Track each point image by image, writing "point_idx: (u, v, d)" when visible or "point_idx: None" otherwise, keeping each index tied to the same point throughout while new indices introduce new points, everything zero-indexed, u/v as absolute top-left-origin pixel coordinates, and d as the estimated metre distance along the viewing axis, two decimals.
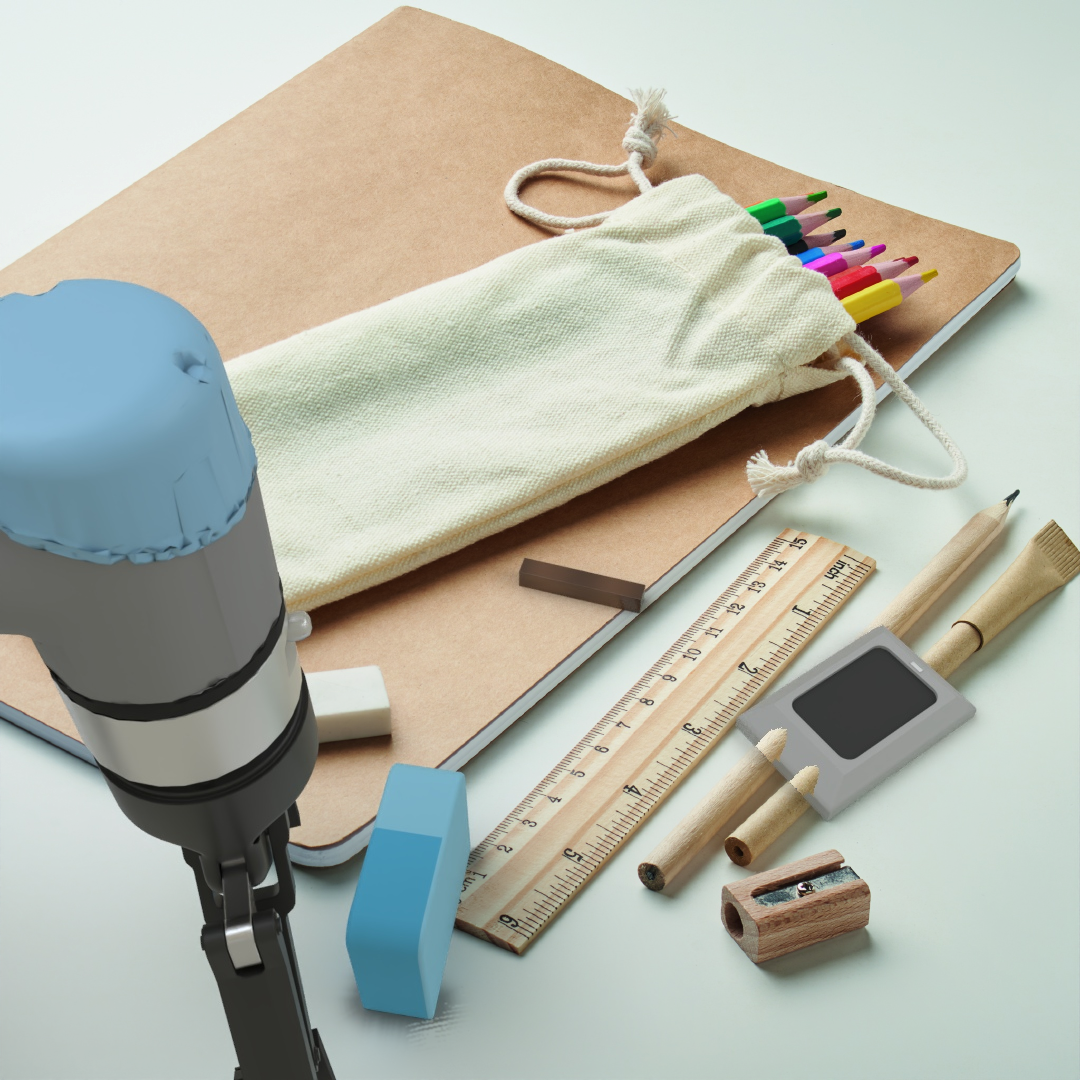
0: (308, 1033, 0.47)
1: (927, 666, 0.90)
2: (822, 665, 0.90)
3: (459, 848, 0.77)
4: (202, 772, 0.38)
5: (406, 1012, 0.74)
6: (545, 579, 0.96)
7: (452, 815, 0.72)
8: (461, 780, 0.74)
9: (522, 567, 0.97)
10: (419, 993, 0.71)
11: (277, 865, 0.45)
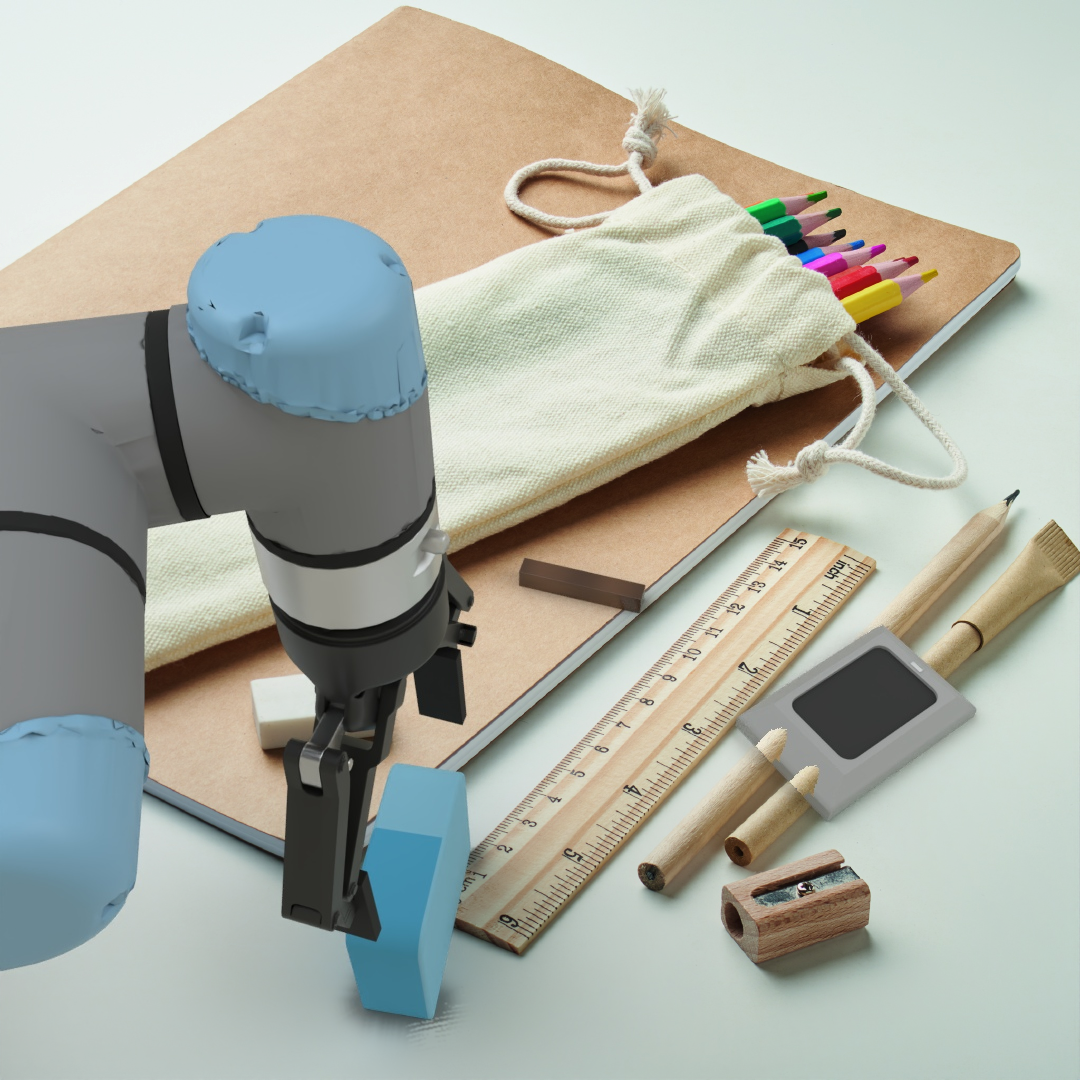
0: (351, 868, 0.56)
1: (927, 666, 0.90)
2: (822, 665, 0.90)
3: (459, 848, 0.77)
4: (320, 619, 0.48)
5: (406, 1012, 0.74)
6: (545, 579, 0.96)
7: (452, 815, 0.72)
8: (461, 780, 0.74)
9: (522, 567, 0.97)
10: (419, 993, 0.71)
11: (377, 727, 0.54)
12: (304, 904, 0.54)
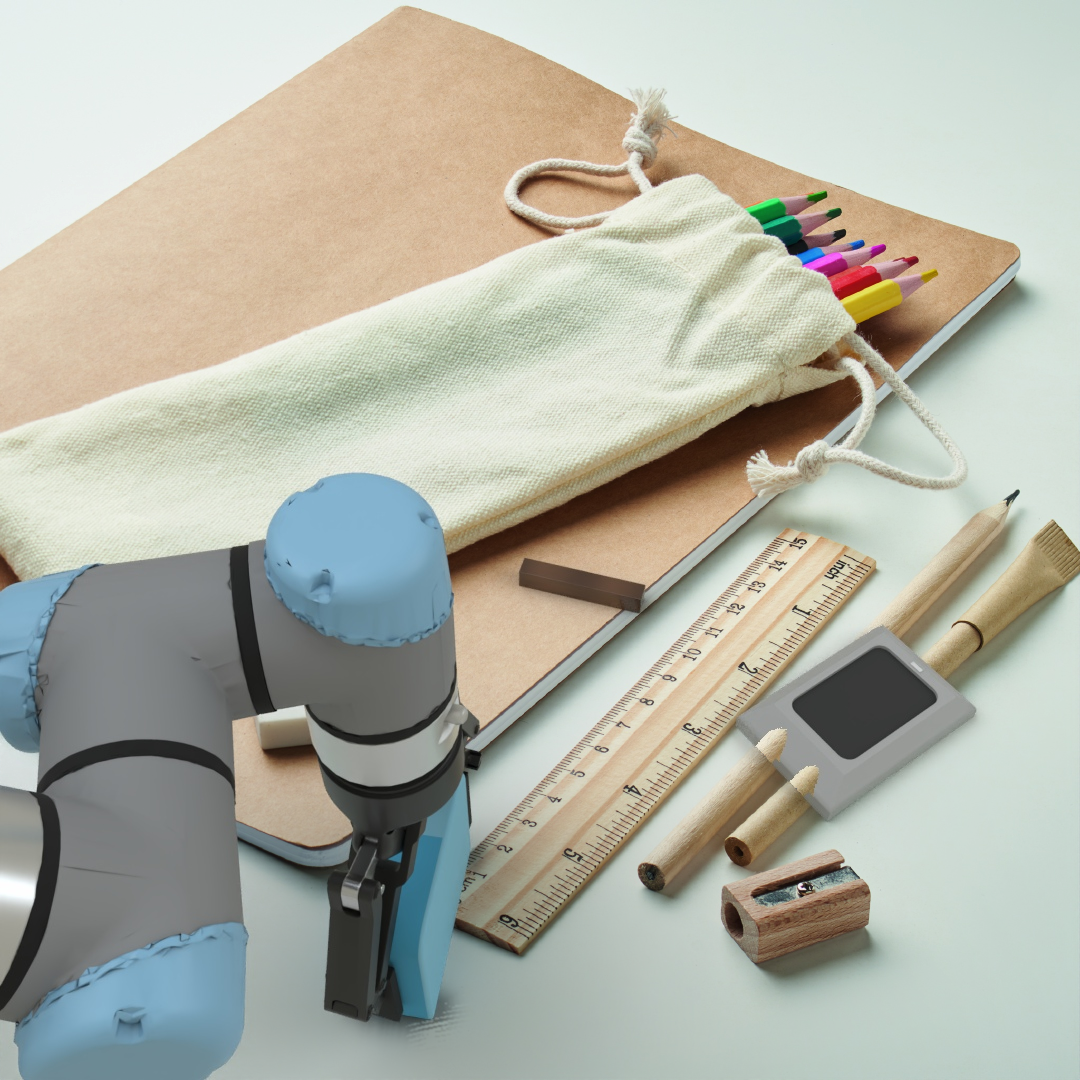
0: (381, 968, 0.66)
1: (927, 666, 0.90)
2: (822, 665, 0.90)
3: (459, 848, 0.77)
4: (361, 779, 0.58)
5: (406, 1012, 0.74)
6: (545, 579, 0.96)
7: (452, 815, 0.72)
8: (461, 780, 0.74)
9: (522, 567, 0.97)
10: (419, 993, 0.71)
11: (403, 853, 0.65)
12: (343, 1000, 0.65)
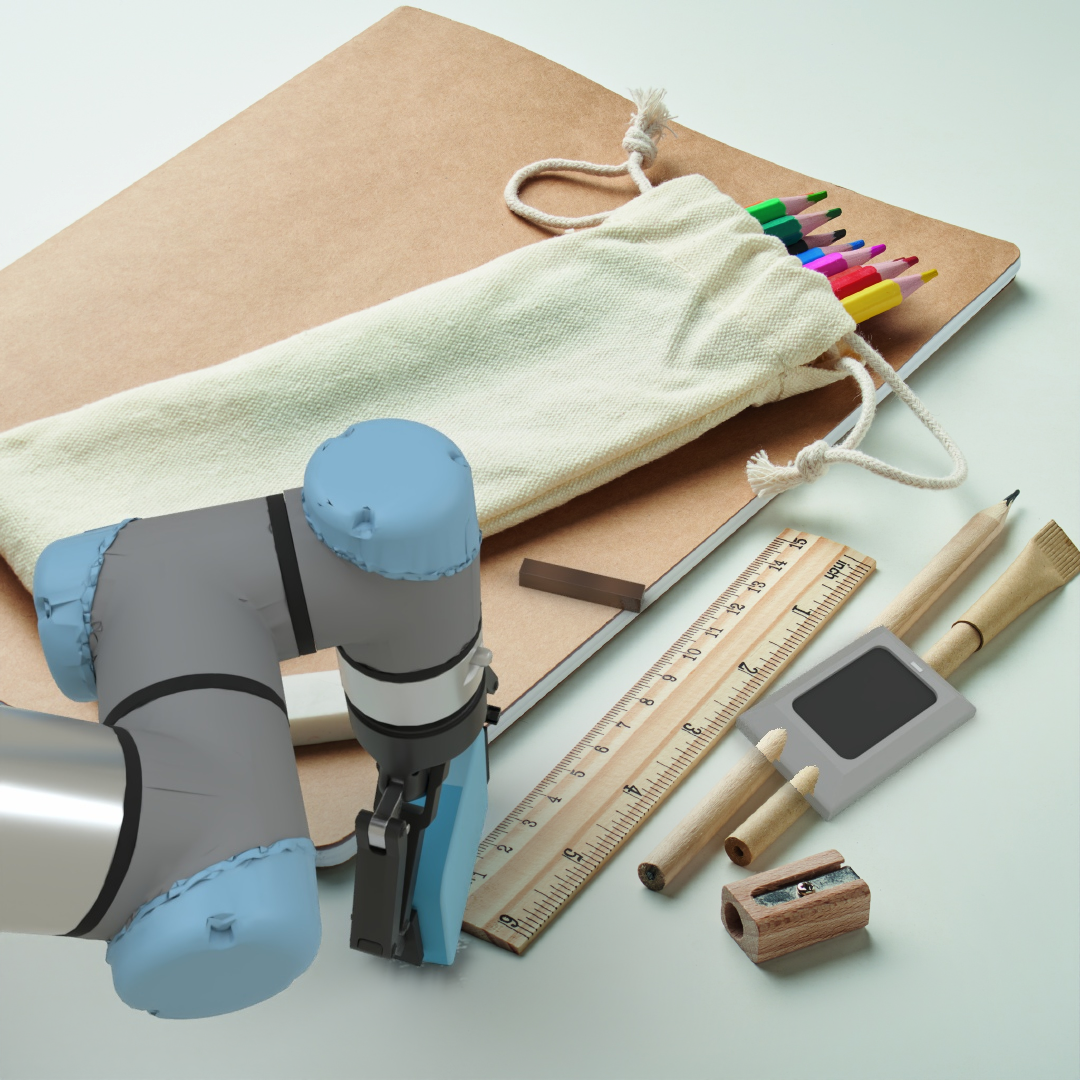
0: (405, 909, 0.68)
1: (927, 666, 0.90)
2: (822, 665, 0.90)
3: (478, 800, 0.79)
4: (389, 718, 0.60)
5: (426, 958, 0.76)
6: (545, 579, 0.96)
7: (472, 766, 0.74)
8: (480, 733, 0.76)
9: (522, 567, 0.97)
10: (439, 938, 0.74)
11: (427, 796, 0.67)
12: (369, 938, 0.67)
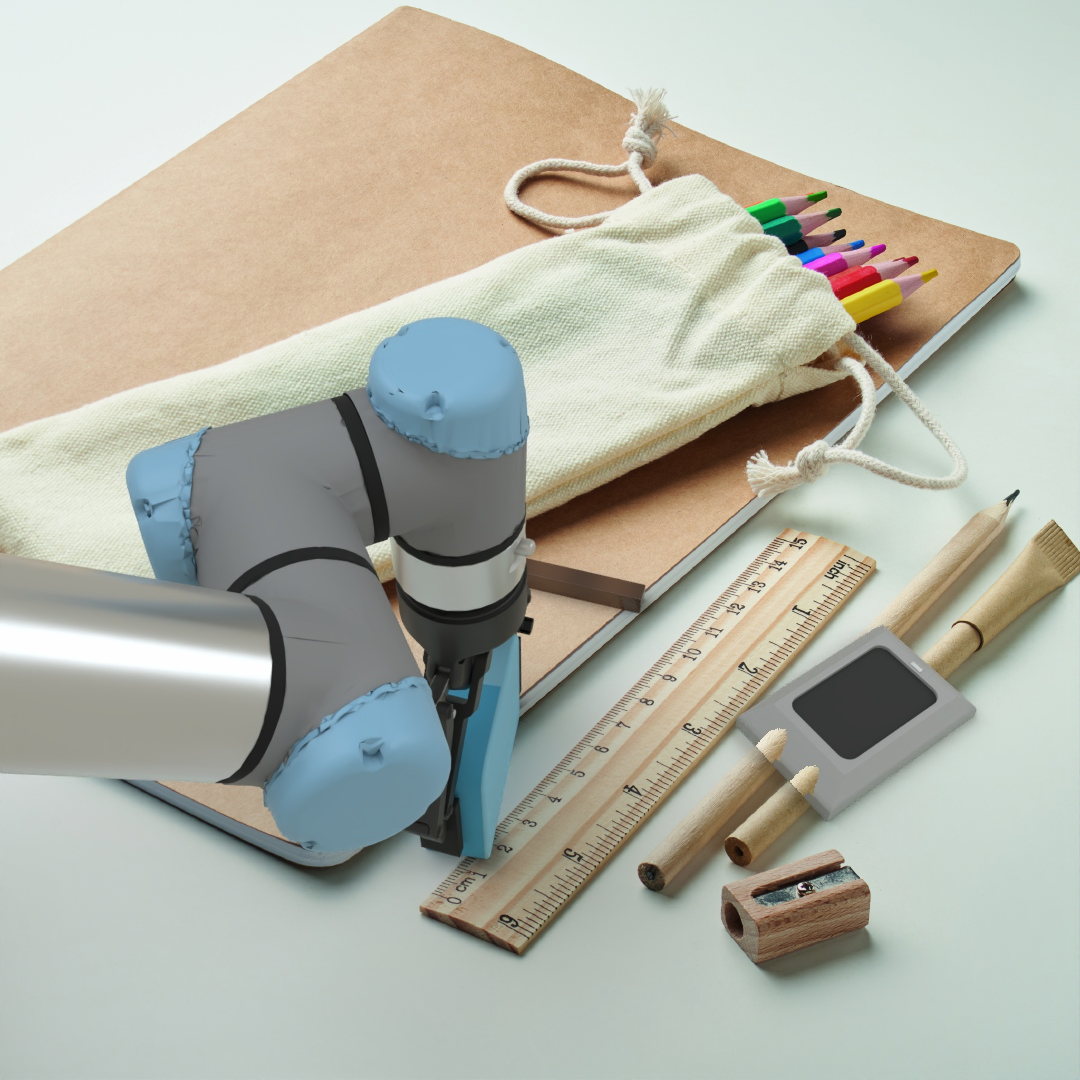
0: (449, 794, 0.73)
1: (927, 666, 0.90)
2: (822, 665, 0.90)
3: (512, 706, 0.84)
4: (440, 603, 0.65)
5: (465, 851, 0.81)
6: (545, 579, 0.96)
7: (509, 668, 0.79)
8: (516, 639, 0.81)
9: None
10: (478, 829, 0.79)
11: (471, 687, 0.72)
12: (416, 819, 0.72)
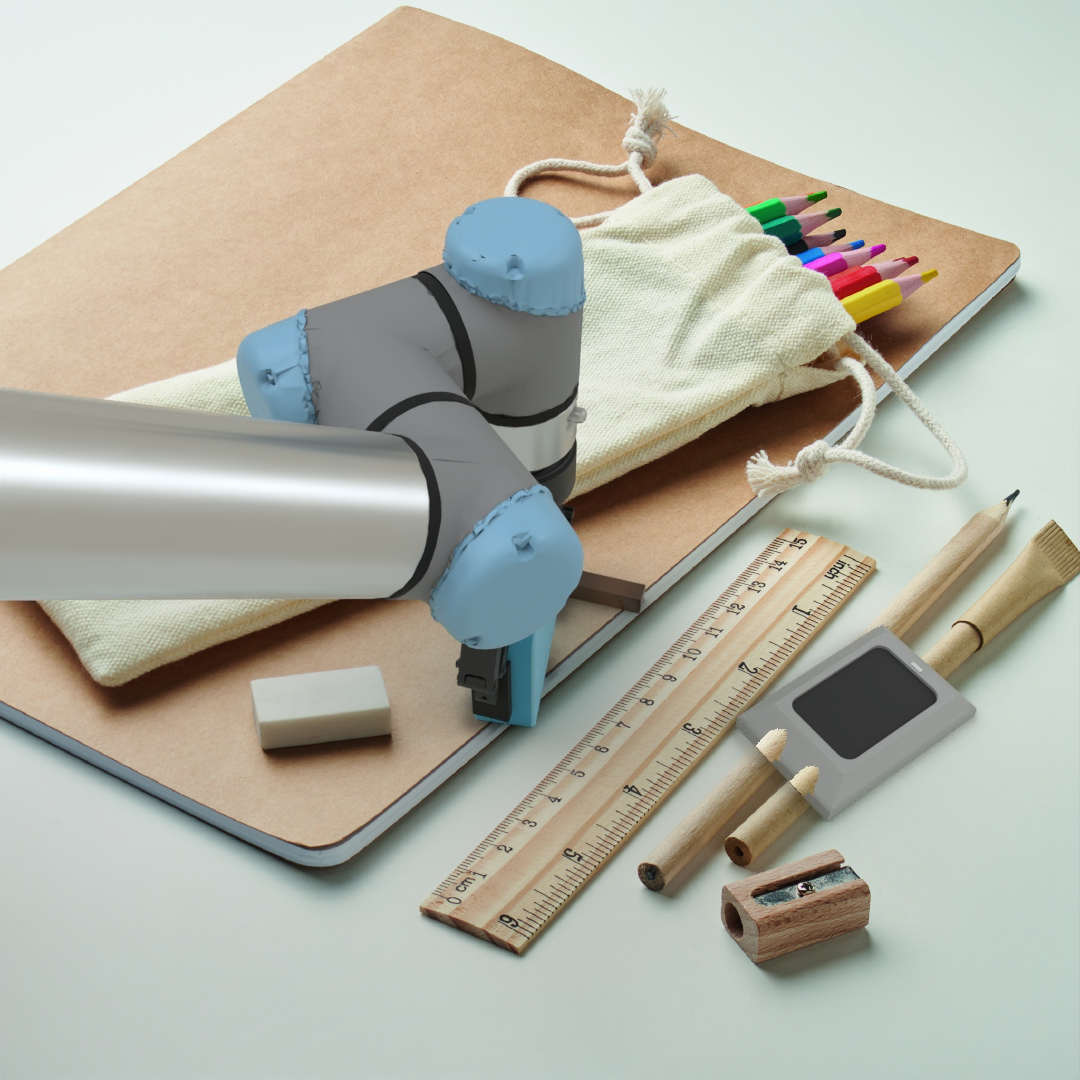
0: (503, 653, 0.80)
1: (927, 666, 0.90)
2: (822, 665, 0.90)
3: None
4: None
5: (513, 719, 0.88)
6: None
7: None
8: None
9: None
10: (526, 694, 0.85)
11: None
12: (474, 674, 0.79)
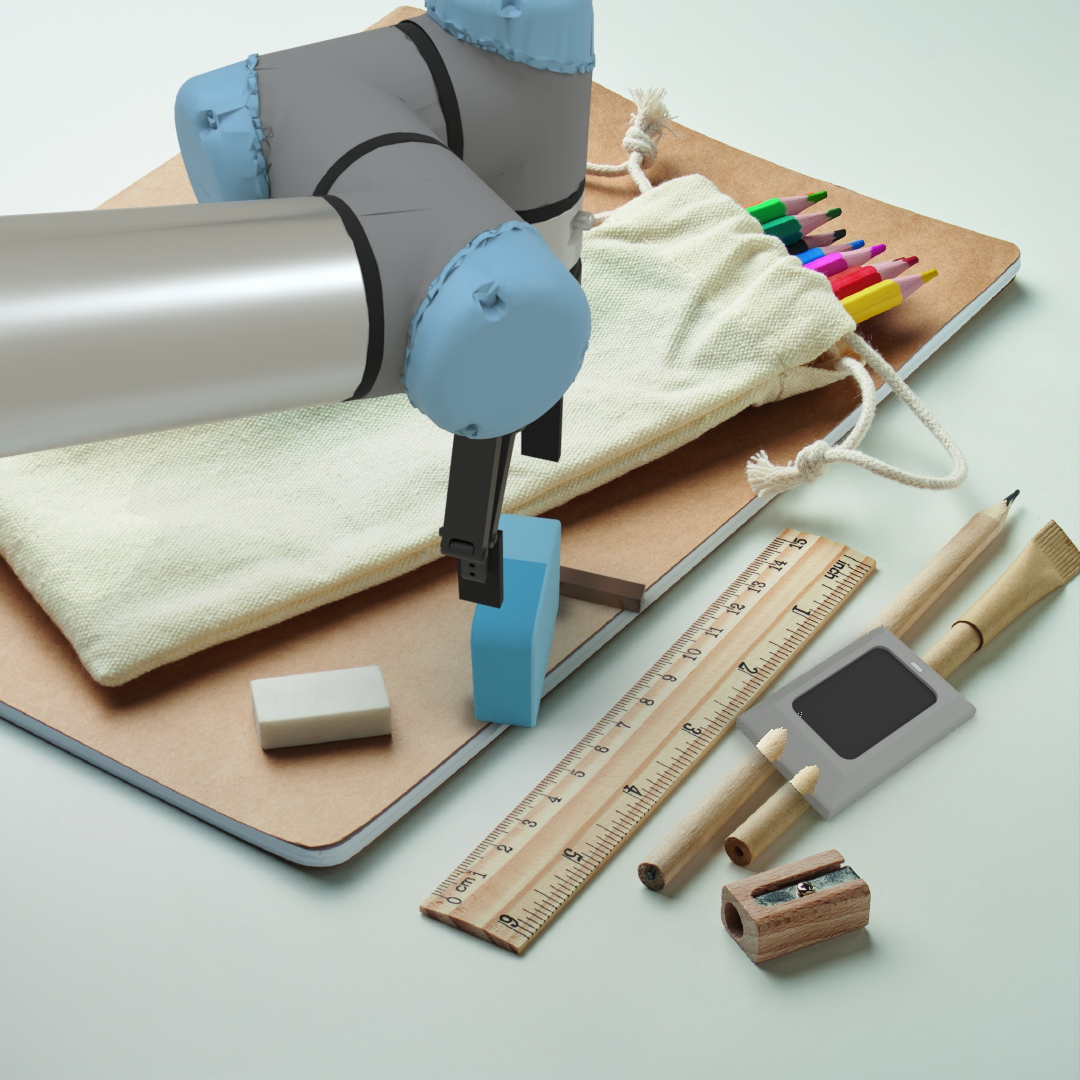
0: (494, 517, 0.69)
1: (927, 666, 0.90)
2: (822, 665, 0.90)
3: (554, 589, 0.91)
4: None
5: (513, 720, 0.88)
6: None
7: (553, 548, 0.86)
8: (559, 524, 0.88)
9: None
10: (526, 695, 0.85)
11: None
12: (461, 538, 0.68)
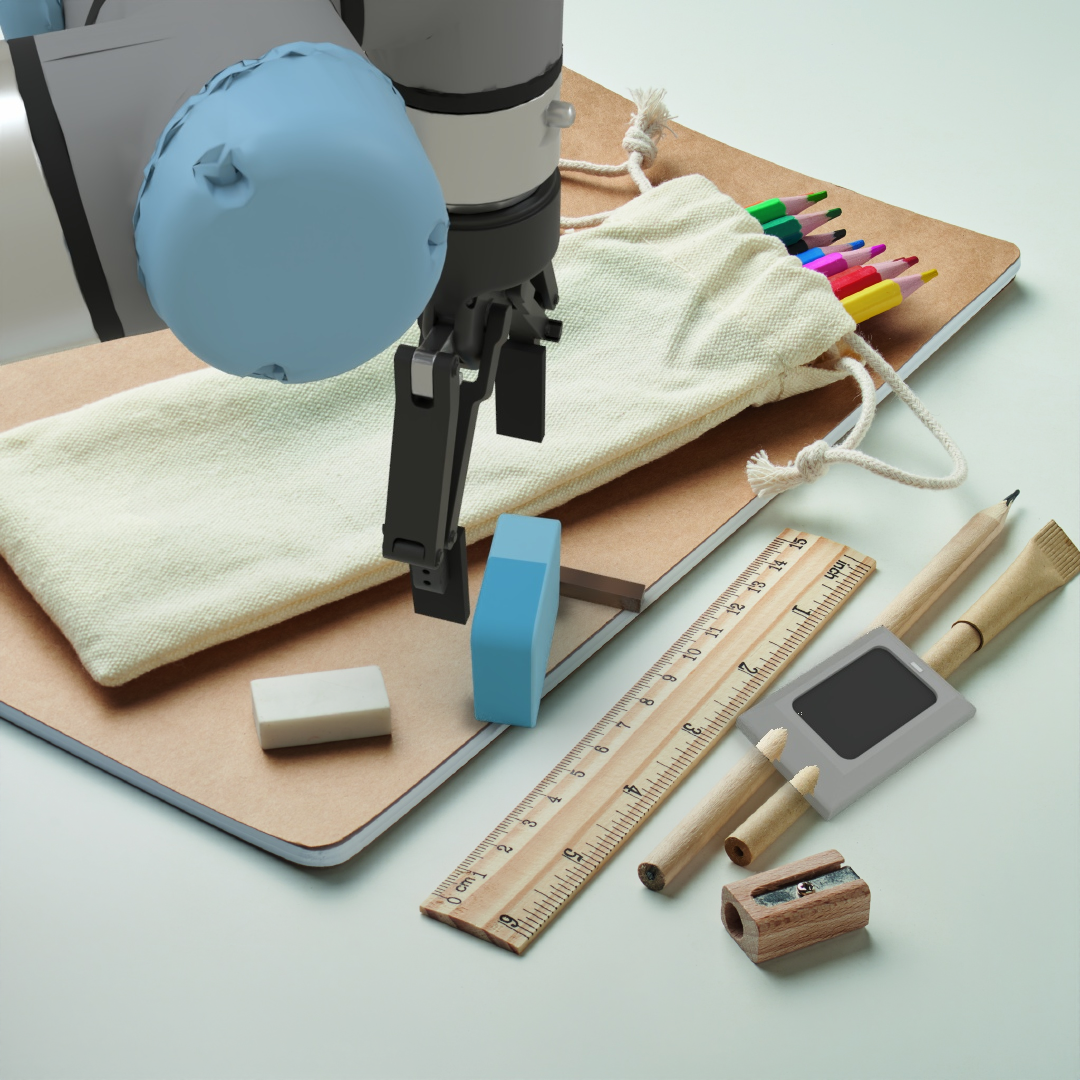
0: (452, 510, 0.54)
1: (927, 666, 0.90)
2: (822, 665, 0.90)
3: (554, 590, 0.91)
4: (442, 190, 0.46)
5: (513, 720, 0.88)
6: None
7: (553, 548, 0.86)
8: (559, 524, 0.88)
9: None
10: (526, 695, 0.85)
11: (483, 356, 0.53)
12: (407, 537, 0.52)
